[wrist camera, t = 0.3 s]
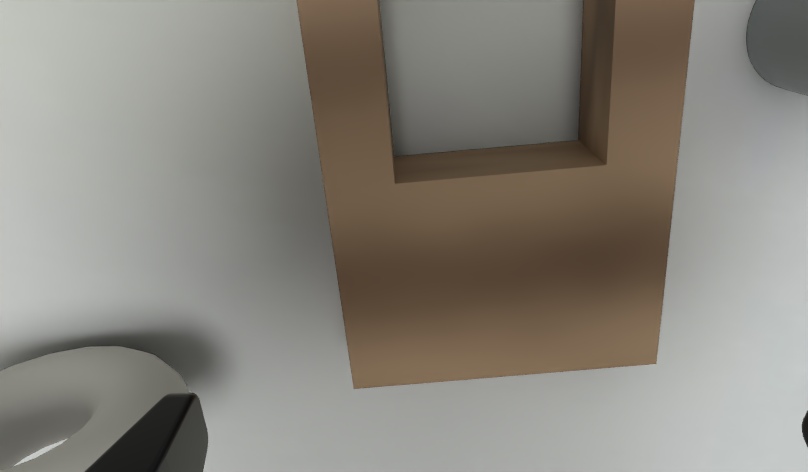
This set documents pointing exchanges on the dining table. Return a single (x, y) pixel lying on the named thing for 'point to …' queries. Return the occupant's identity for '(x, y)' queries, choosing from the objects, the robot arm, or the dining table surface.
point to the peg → (780, 43)
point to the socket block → (502, 209)
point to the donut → (77, 404)
